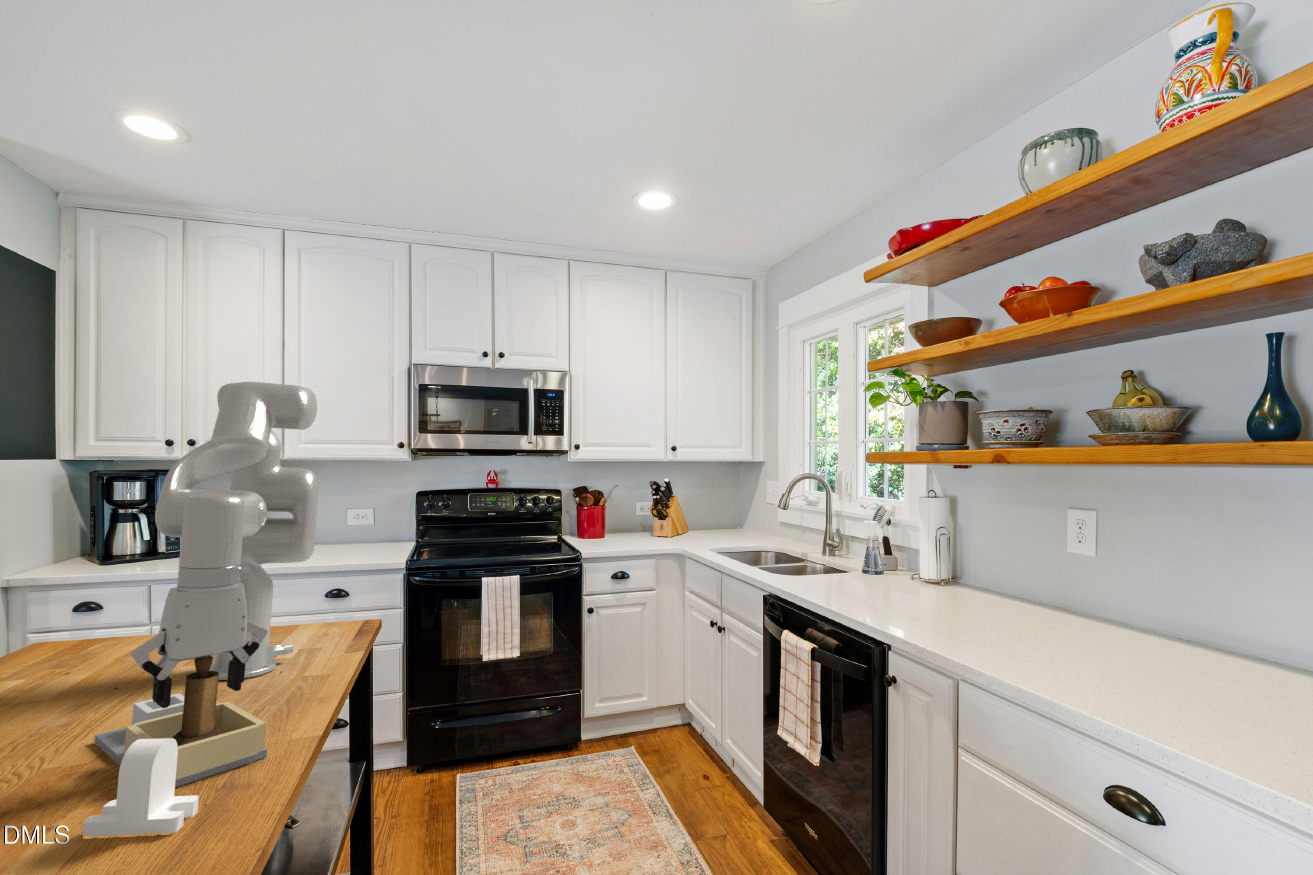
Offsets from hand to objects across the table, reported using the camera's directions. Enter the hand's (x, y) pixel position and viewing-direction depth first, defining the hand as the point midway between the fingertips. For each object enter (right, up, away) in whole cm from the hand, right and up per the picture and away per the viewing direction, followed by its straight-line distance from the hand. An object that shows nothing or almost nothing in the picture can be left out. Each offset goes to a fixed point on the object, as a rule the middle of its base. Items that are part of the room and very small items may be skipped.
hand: (199, 696), depth 92 cm
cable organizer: (+5, -9, -16) cm, 19 cm away
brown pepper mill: (0, -8, 0) cm, 8 cm away
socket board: (-5, -9, +3) cm, 11 cm away
